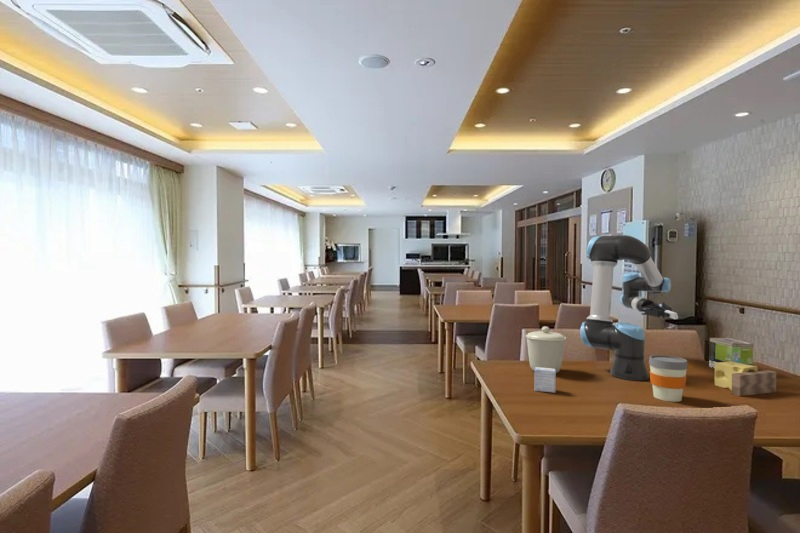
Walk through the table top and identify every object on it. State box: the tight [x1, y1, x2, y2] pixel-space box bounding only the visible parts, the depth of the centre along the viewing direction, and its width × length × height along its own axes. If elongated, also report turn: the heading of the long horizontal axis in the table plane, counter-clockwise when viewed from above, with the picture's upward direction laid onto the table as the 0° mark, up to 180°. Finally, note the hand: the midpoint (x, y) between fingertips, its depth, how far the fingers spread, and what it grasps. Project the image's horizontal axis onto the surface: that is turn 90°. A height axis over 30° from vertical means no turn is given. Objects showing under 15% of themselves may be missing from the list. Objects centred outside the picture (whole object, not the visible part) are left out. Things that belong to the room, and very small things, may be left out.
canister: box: [525, 326, 567, 374], centre depth 196 cm, size 18×18×21 cm
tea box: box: [708, 337, 754, 369], centre depth 199 cm, size 15×10×15 cm, turn 179°
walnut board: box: [731, 369, 777, 397], centre depth 166 cm, size 20×3×8 cm, turn 106°
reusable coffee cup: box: [648, 354, 689, 403], centre depth 159 cm, size 13×13×15 cm
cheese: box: [714, 361, 759, 391], centre depth 172 cm, size 10×11×10 cm
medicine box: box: [534, 367, 557, 393], centre depth 167 cm, size 8×4×9 cm, turn 71°
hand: (676, 316), depth 194 cm, fingers closed
